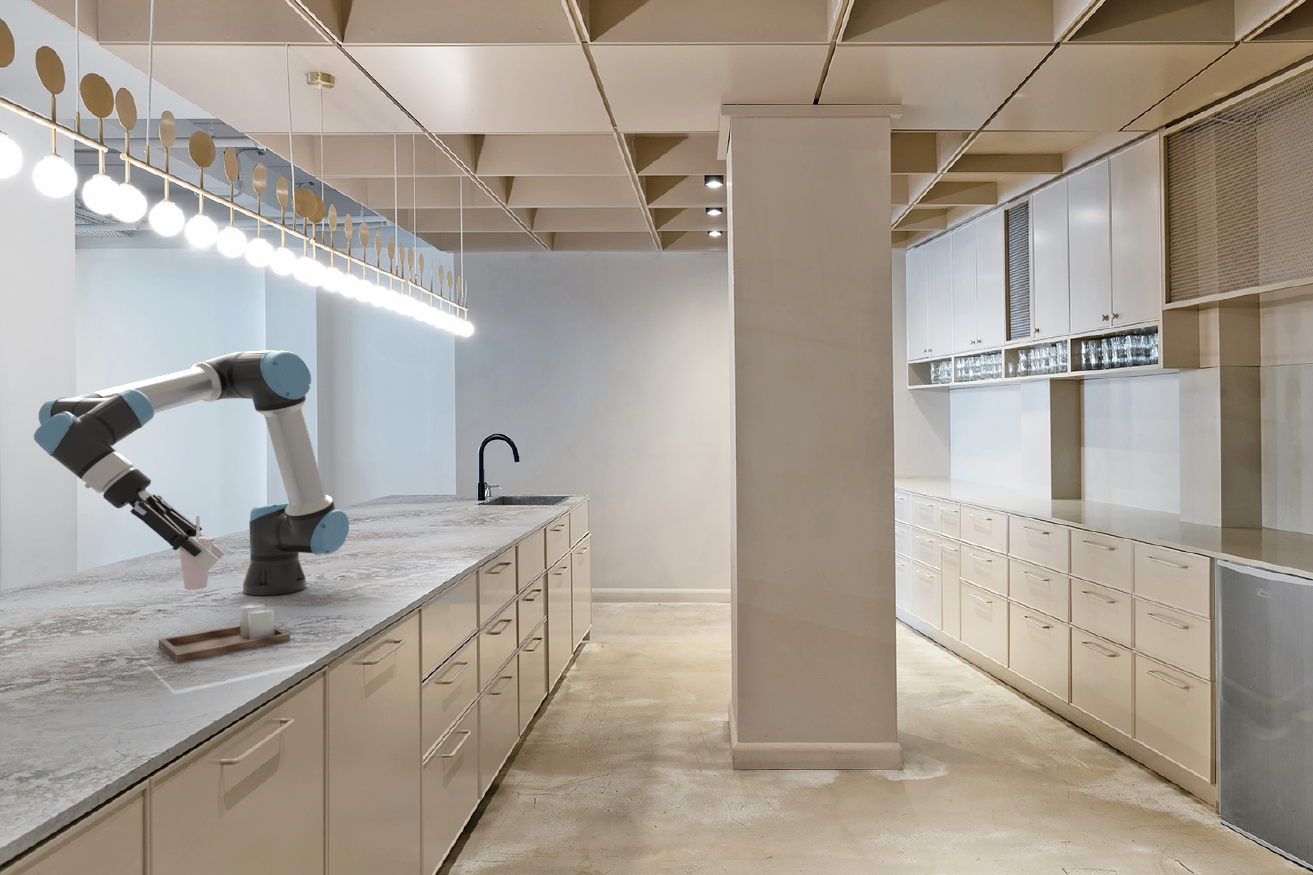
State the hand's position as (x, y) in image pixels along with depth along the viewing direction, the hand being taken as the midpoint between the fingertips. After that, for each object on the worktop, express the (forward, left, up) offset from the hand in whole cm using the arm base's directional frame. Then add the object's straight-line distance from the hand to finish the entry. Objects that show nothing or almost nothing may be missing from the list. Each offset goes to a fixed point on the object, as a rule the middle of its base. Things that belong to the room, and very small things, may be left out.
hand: (216, 561), depth 150 cm
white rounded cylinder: (-8, -4, -17) cm, 19 cm away
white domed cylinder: (-8, +2, -17) cm, 19 cm away
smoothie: (+3, -1, -5) cm, 6 cm away
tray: (-2, -1, -18) cm, 18 cm away
